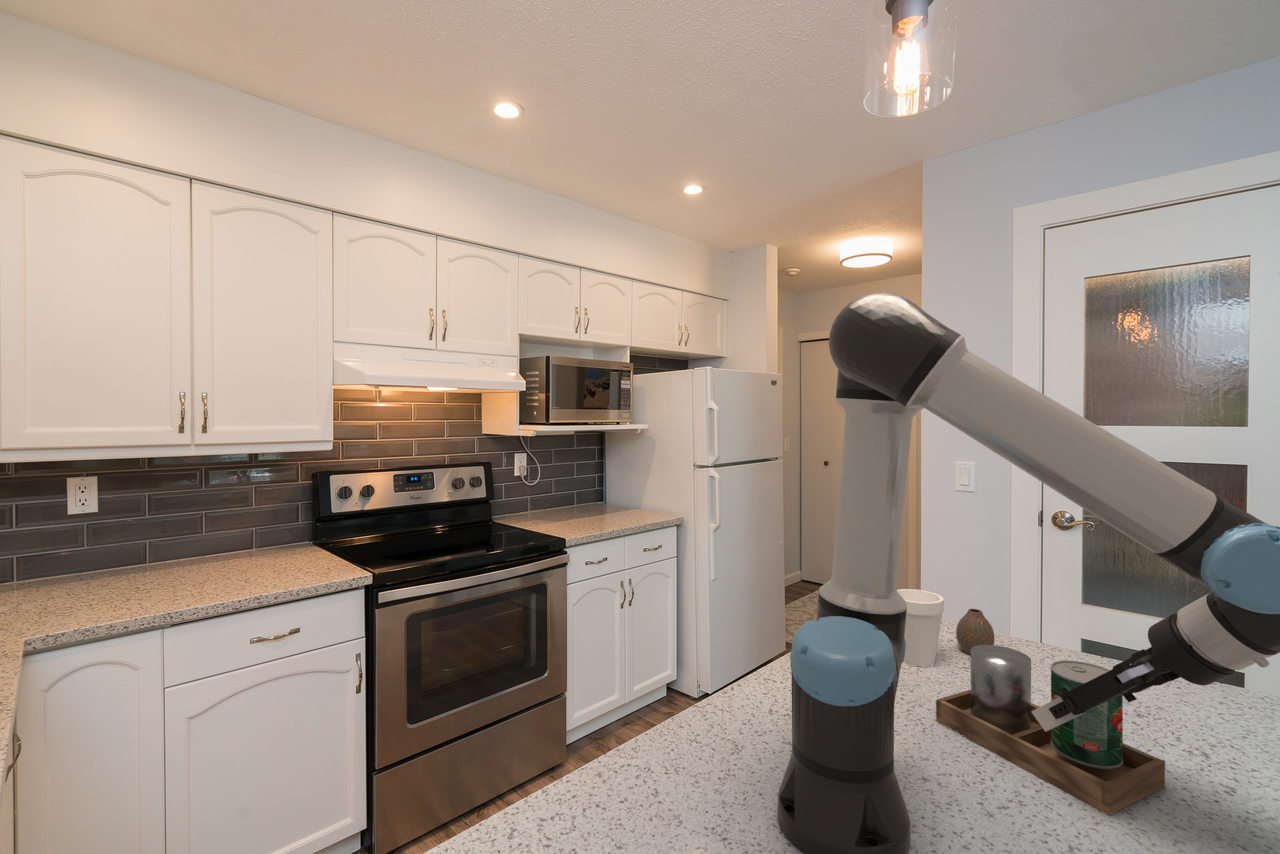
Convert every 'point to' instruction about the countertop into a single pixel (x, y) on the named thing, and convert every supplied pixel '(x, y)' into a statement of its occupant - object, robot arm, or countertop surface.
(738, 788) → the countertop surface
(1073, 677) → the canned tomato
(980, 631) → the vase
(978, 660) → the seated cylinder
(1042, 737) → the wooden divided tray
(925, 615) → the foam cup
